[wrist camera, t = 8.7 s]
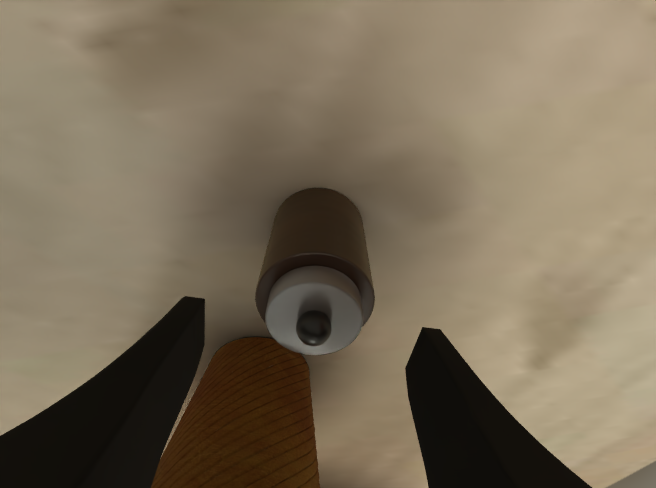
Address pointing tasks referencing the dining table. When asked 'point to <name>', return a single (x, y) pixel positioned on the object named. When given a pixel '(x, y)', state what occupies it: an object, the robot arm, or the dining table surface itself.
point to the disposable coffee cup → (246, 423)
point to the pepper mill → (316, 274)
